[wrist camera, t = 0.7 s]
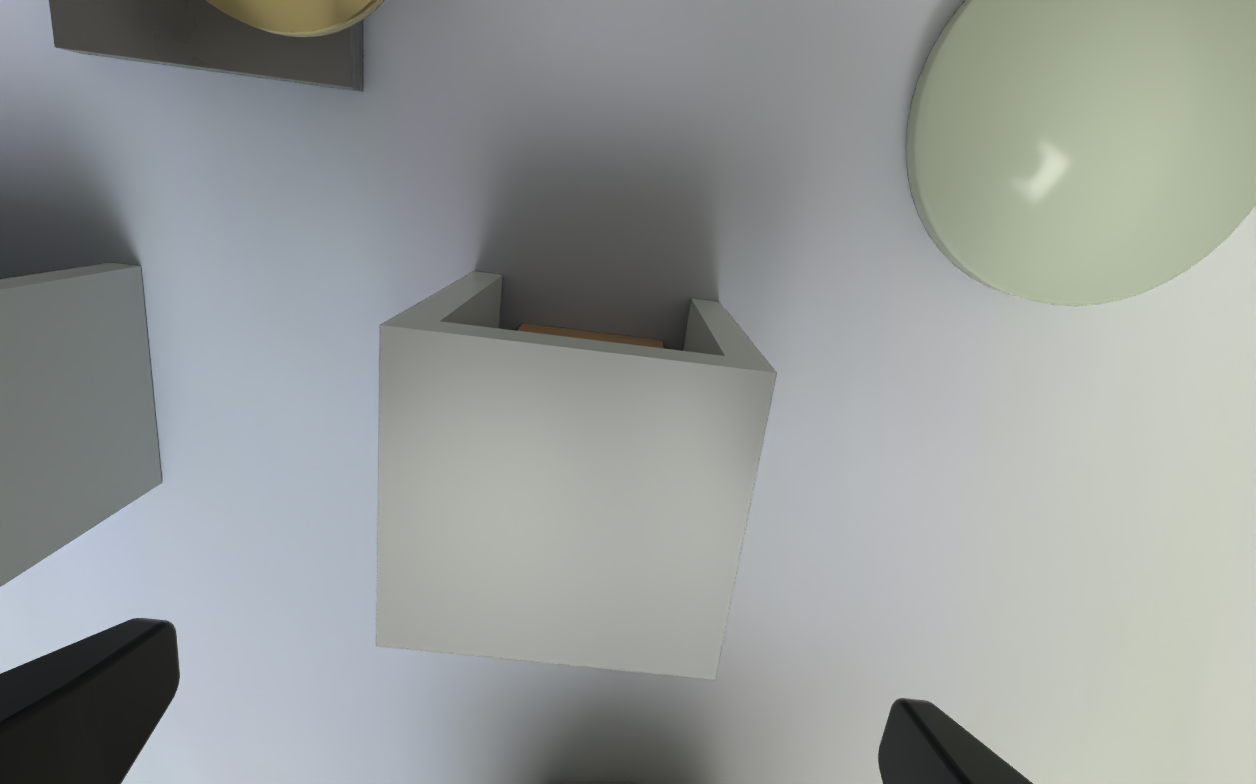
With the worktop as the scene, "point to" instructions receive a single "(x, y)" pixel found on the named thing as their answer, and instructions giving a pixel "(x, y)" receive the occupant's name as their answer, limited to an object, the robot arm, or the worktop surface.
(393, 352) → the cover
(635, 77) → the worktop surface
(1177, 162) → the dish
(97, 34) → the balance
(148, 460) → the cover
